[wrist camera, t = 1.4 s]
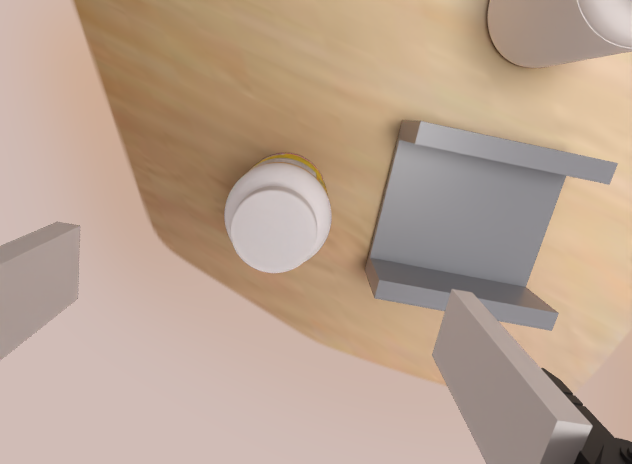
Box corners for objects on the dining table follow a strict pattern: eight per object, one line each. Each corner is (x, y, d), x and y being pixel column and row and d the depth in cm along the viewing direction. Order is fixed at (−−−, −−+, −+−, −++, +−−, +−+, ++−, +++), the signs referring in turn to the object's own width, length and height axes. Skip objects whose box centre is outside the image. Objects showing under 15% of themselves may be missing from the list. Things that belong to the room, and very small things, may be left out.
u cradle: (402, 120, 33) (420, 121, 27) (567, 155, 34) (617, 163, 28) (364, 270, 36) (374, 298, 31) (515, 298, 37) (551, 330, 32)
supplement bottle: (308, 241, 36) (306, 308, 23) (235, 213, 35) (194, 267, 23) (338, 169, 34) (355, 200, 22) (263, 138, 33) (235, 151, 21)
